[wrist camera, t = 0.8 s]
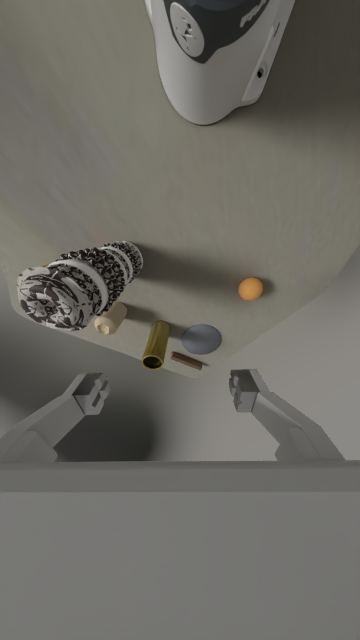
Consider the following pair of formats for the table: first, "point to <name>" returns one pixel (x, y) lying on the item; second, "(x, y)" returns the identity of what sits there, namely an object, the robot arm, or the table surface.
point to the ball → (250, 288)
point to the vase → (156, 346)
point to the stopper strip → (186, 360)
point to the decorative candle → (78, 285)
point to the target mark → (201, 339)
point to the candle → (111, 319)
